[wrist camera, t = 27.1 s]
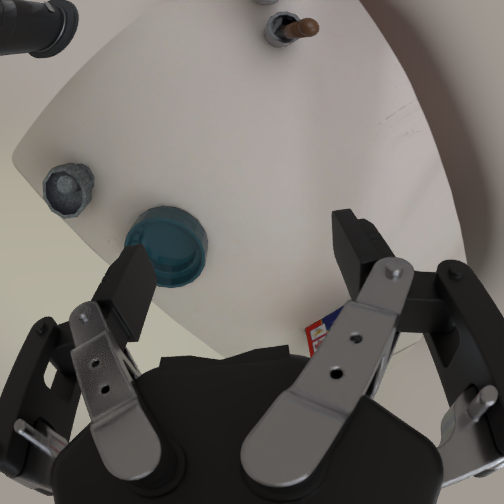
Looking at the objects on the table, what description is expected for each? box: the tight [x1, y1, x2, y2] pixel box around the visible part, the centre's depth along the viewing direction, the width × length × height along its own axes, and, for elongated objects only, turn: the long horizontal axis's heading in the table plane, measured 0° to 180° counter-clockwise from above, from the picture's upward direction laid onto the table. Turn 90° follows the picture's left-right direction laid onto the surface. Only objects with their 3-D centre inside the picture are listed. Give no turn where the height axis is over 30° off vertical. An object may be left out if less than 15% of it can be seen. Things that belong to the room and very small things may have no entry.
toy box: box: [305, 306, 344, 357], centre depth 64 cm, size 18×4×12 cm, turn 131°
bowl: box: [124, 206, 208, 288], centre depth 55 cm, size 15×15×5 cm
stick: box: [274, 18, 319, 40], centre depth 28 cm, size 2×2×20 cm
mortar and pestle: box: [43, 163, 94, 219], centre depth 43 cm, size 11×9×12 cm
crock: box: [264, 12, 300, 48], centre depth 33 cm, size 5×5×8 cm
